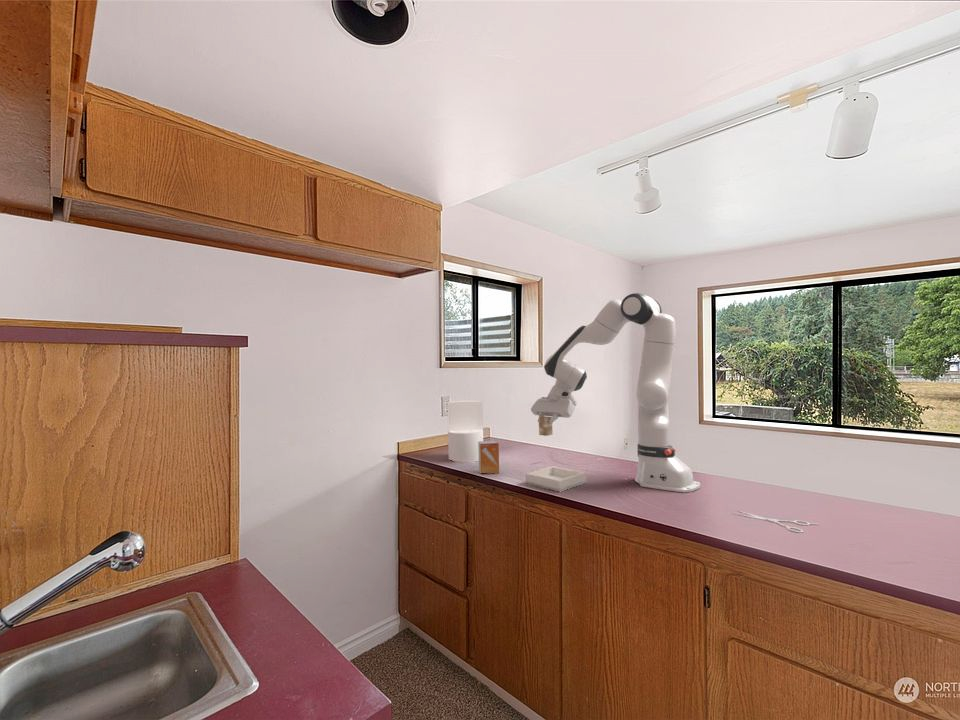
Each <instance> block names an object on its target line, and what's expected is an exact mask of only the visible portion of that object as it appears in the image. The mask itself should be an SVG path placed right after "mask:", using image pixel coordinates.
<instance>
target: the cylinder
mask: <svg viewBox="0 0 960 720" xmlns="http://www.w3.org/2000/svg"><path fill="white" fill-rule="evenodd" d="M446 404H447V437H448V439H447V442H448V443H447V444H448V445H447V446H448V447H447V448H448V460H449V459H450V460H453V461H461V462H468V463H471V462H470V461H477V462H479V461H478V460H479V452H478V441H484V419H483V418H484V417H483V416H484V414H483V413H484V411H483V410H484V409H483V401H482V400H476V399H475V400H470V399H468V400H466V399H465V400H451V401H450V400H449V401H448V402H447V403H446ZM450 460H449V461H450Z"/></svg>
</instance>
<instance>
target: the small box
mask: <svg viewBox="0 0 960 720" xmlns="http://www.w3.org/2000/svg"><path fill="white" fill-rule="evenodd" d="M499 445H500V444H499V442H498V441H497V440H483V441H478V452H479V461H478V471H480V472H479V474H481V473H494V474H500V446H499Z"/></svg>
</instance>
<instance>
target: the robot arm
mask: <svg viewBox="0 0 960 720" xmlns="http://www.w3.org/2000/svg"><path fill="white" fill-rule="evenodd" d="M662 310H663V309H662V307H661V305H660V303H659V302H658V301H657V300H656V299H653V297H651V296H648V295H646V294H643V293H639V292H636V293H635V292H634V293H631V294H628V295H625V297H624V298H623V299H622V300H620V299H611V300H610V301H608V302H607V303H606V304H605V306H604V307H602V308H601V310H600V311H599V312H598V314H597V315H596V317H595V318H594V320H593V321H592V322H591V323H589V324H587V325H581V326H580V327H578V328H577V329H576V330H575V331H574V332H573V333H571V335H570V336H569V337H568V338H567V339H566V341H564V342H563V343H562V345H560V347H558V349H557V350H556V351H555V352H554V353H553V354H551V355H550V356H549V357H548V358H547V359H546V360H545V362H544V366H543V368H544V371H545V374H546V375H547V376H549V377H551V378H553V379H556V380H555V384H554V385H553V386H552V387H551V389H550V391H549V392H548V394H547V396H546V397H545V396H544V397H543V396H542V397H541V398H538V399H537V400H536V401H535V402H534V403H533V404H532V406H531V408H530V412H531V413H532V414H533V415H534V416H538V419H537V422H538V423H539V417H544V416H546V417H552V418H550V419H548V421H547V422H548V424H552V425H553V423H554V422H555V421H557V420H558V419H559V418H570V417H572V415H573V413H574V411H575V409H576V406H577V405H578V402H577V400H576V399H575V397H574V395H572V393H573V392H576V391H580V390H581V389H582V387H583V386H584V384H585V381H586V380H587V378H588V377H587V372H586V371H587V370H585V369H584V368H582V367H581V366H580V365H577V364H575V363H574V362H572V361H570V360H569V359H567V358H566V355H567V354H569V352H570V351H571V350H572V349H573V348H574V347H575V346H576V345H578V344H580V343H581V344H582V343H585V344H591V345H595V346H596V345H598V346H602V345H608V344H610V343H612V341H614V340H615V339H616V337H617V336H618V334H619V333H620V332H621V331H622V329H623V327H624V326H625V325H626V324H627V323H629V322H632V323H635V324H638V325H640V326H642V327H643V329H644V338H643V343H642V344H643V346H642V352H641V359H640V360H641V361H640V367H639V373H638V380H637V386H636V387H637V388H636V400H637V429H638V430H637V431H638V432H637V434H638V443H637V458H638V463H637V469H636V470H637V471H636V475H635V478H634V481H635V482H636V483H637V484H639V486H640V487H643V488H650V489H656V490H662V491H669V492H670V491H671V492H677V493H691V492H694V491H697V490H699V489H700V488H701V483H700V482H699V481H696V480H694V475H693V474H694V473H693V471H692V469H691V467H690V466H688V465H687V464H686V463H684V462H683V461H682V460H681V459H679V458H678V457H677V456H676V452H677V451H678V450H677V447H673V446H672V445H671V443H670V441H671V440H670V439H671V438H670V416H669V415H670V413H669V397H670V388H671V381H672V380H671V379H672V373H673V372H672V370H673V362H674V354H675V348H676V340H677V339H676V335H677V331H676V328H677V327H676V321H675V318H674V317H672V316H671V315H669V314H668V313H662V312H663V311H662Z"/></svg>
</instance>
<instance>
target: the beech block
mask: <svg viewBox="0 0 960 720" xmlns="http://www.w3.org/2000/svg"><path fill="white" fill-rule="evenodd" d="M550 418H552V416H544V417H539V416H538V419H539V422H538V435H539V436H542V437H543V436H544V437H548V436H552V435H553V433H554V432H553V423H552V424H548V422H547V421H548V419H550Z"/></svg>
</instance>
